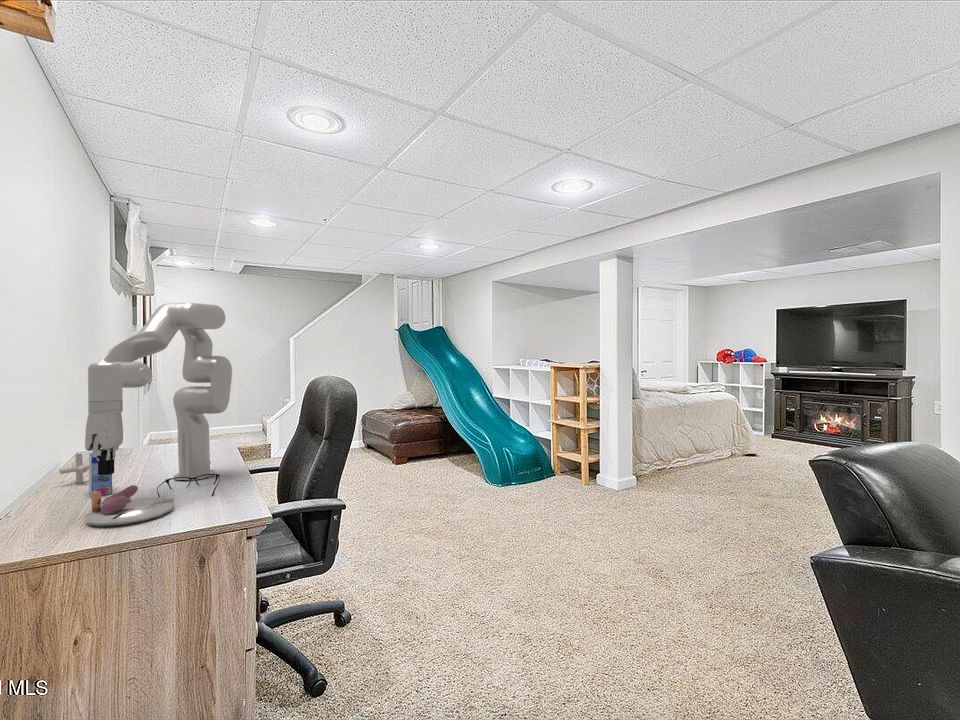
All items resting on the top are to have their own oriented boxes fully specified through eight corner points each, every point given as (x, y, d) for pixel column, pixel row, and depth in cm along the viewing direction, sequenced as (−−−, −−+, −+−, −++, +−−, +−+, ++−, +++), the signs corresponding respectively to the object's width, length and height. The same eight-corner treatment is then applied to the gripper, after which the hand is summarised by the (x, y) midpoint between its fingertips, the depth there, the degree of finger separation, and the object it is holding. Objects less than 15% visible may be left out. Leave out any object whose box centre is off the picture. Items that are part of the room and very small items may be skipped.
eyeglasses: (222, 484, 162) (221, 472, 162) (218, 497, 148) (218, 483, 147) (163, 491, 155) (163, 478, 155) (153, 505, 141) (153, 491, 141)
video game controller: (141, 499, 135) (111, 504, 133) (138, 483, 135) (108, 488, 133) (128, 513, 126) (96, 519, 124) (125, 496, 125) (92, 502, 123)
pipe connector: (92, 477, 172) (91, 449, 172) (103, 481, 166) (102, 452, 166) (56, 484, 164) (55, 454, 164) (65, 488, 158) (64, 458, 158)
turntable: (111, 505, 138) (110, 482, 138) (185, 500, 142) (184, 478, 141) (68, 529, 119) (67, 502, 119) (154, 522, 123) (153, 497, 123)
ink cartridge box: (113, 494, 151) (112, 447, 151) (91, 497, 147) (89, 450, 147) (110, 487, 158) (109, 443, 158) (88, 491, 155) (87, 445, 154)
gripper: (105, 405, 141) (106, 469, 140) (73, 410, 126) (73, 481, 126) (134, 404, 142) (135, 467, 142) (105, 409, 127) (106, 479, 127)
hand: (106, 474), depth 134 cm, fingers closed
